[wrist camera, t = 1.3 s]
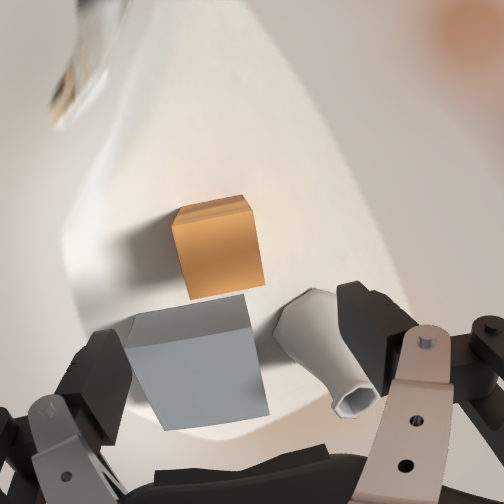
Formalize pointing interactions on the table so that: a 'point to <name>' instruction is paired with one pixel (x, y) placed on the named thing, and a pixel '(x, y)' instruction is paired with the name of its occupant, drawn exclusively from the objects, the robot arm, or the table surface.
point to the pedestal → (198, 364)
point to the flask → (325, 351)
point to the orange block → (218, 247)
